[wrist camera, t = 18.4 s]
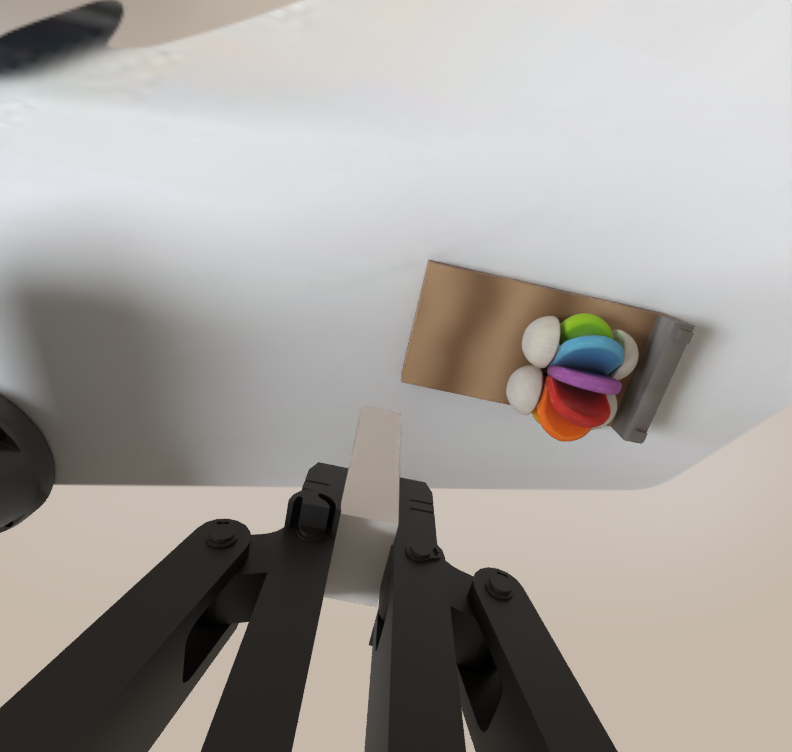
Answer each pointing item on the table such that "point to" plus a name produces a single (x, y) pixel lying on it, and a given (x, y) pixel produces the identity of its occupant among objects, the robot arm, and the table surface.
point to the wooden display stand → (503, 332)
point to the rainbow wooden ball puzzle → (571, 374)
